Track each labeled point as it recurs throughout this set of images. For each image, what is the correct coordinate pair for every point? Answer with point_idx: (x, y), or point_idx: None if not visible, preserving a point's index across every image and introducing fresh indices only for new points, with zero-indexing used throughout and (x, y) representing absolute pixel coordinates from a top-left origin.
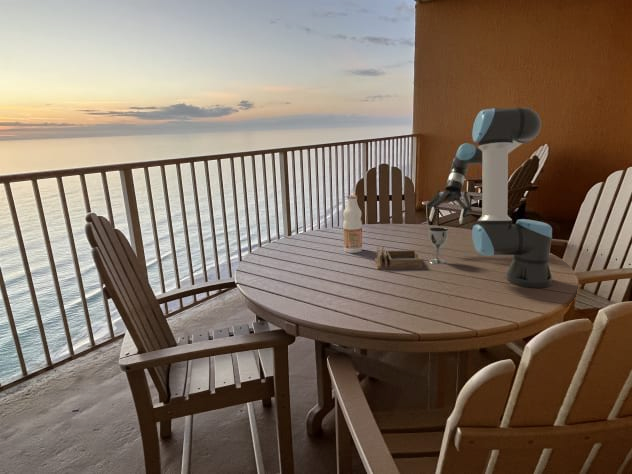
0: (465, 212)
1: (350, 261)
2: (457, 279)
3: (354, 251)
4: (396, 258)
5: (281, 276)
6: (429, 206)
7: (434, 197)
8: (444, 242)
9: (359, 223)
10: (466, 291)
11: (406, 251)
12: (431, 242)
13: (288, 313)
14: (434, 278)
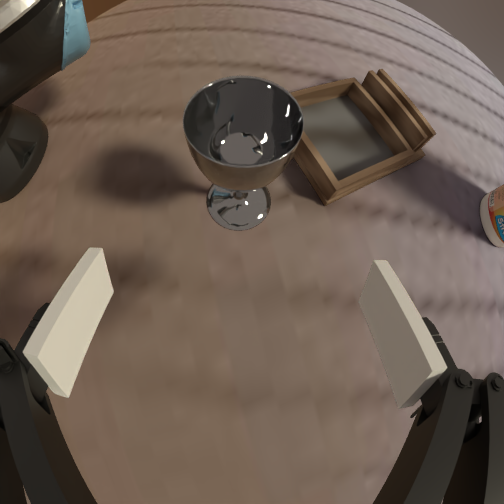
0: (28, 328)
1: (448, 130)
2: (156, 85)
3: (484, 196)
4: (372, 157)
5: (454, 56)
6: (470, 380)
7: (497, 499)
8: (204, 144)
9: None
10: (140, 49)
11: (361, 171)
12: (269, 141)
13: None
14: (213, 71)
